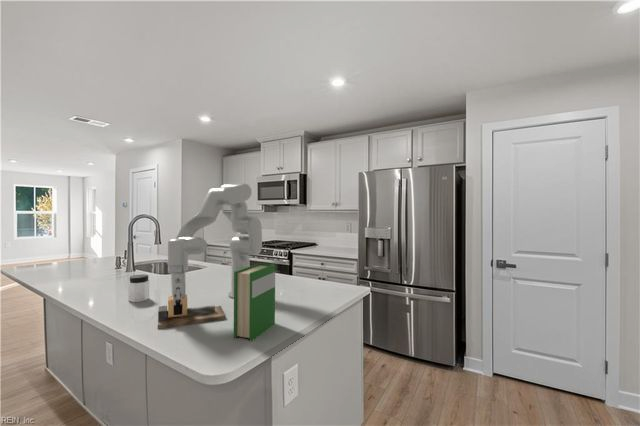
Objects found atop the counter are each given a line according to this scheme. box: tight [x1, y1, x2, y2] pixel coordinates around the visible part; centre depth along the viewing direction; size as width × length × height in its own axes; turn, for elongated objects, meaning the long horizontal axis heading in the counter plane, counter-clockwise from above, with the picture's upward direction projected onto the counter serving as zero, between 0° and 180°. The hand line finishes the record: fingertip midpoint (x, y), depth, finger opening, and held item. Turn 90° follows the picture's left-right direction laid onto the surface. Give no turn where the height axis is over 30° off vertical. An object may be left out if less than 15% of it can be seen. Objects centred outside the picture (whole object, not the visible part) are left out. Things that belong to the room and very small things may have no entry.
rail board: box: [157, 304, 226, 329], centre depth 127 cm, size 25×14×6 cm, turn 116°
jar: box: [128, 273, 150, 303], centre depth 151 cm, size 9×8×12 cm
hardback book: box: [233, 262, 276, 342], centre depth 115 cm, size 18×7×24 cm, turn 161°
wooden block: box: [167, 294, 188, 318], centre depth 125 cm, size 7×6×7 cm
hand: (177, 311), depth 125 cm, fingers closed on wooden block, 5 cm apart
